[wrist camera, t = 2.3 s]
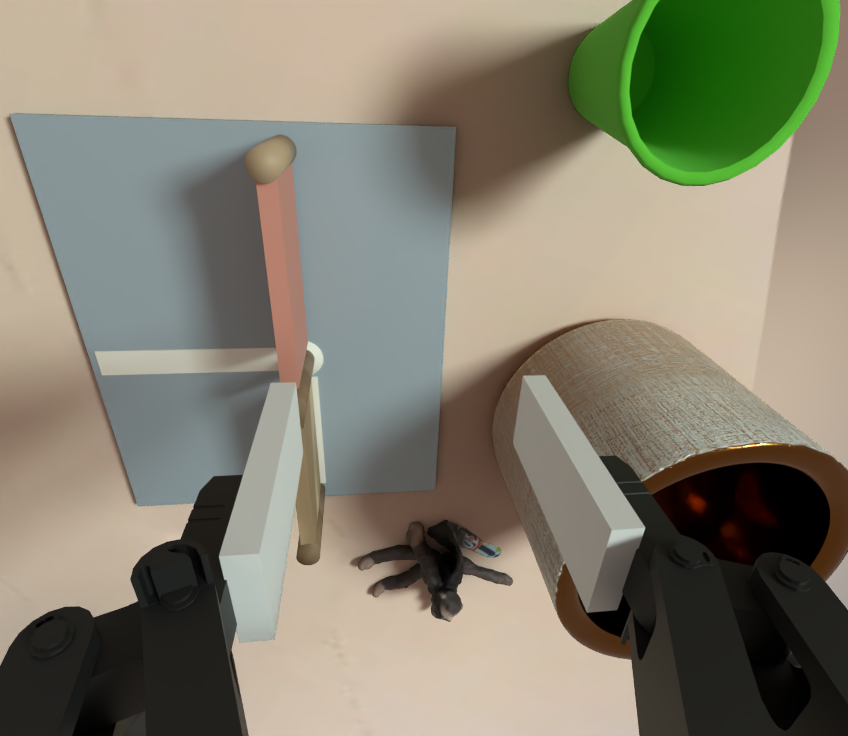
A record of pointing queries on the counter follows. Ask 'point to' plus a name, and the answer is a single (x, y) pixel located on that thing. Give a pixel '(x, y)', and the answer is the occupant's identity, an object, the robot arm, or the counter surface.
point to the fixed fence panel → (309, 474)
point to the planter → (677, 459)
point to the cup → (704, 80)
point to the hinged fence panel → (281, 250)
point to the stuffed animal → (437, 565)
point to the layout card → (251, 289)
